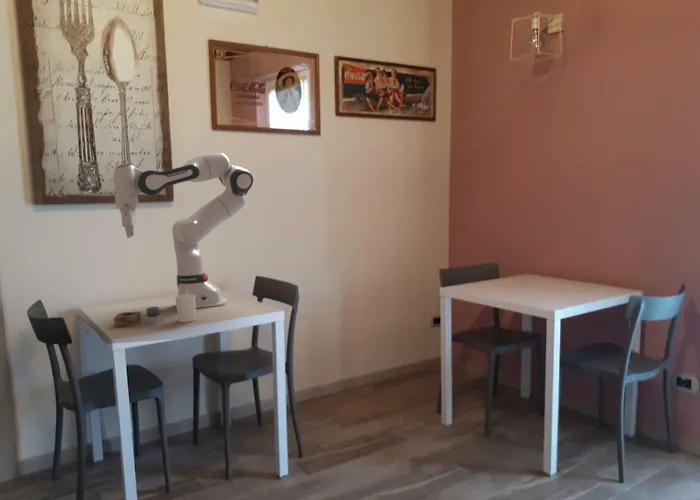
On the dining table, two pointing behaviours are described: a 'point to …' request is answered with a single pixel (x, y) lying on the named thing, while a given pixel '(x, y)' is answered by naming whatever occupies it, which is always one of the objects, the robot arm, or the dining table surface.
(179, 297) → the white cup
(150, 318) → the knob
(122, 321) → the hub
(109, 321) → the dining table surface
